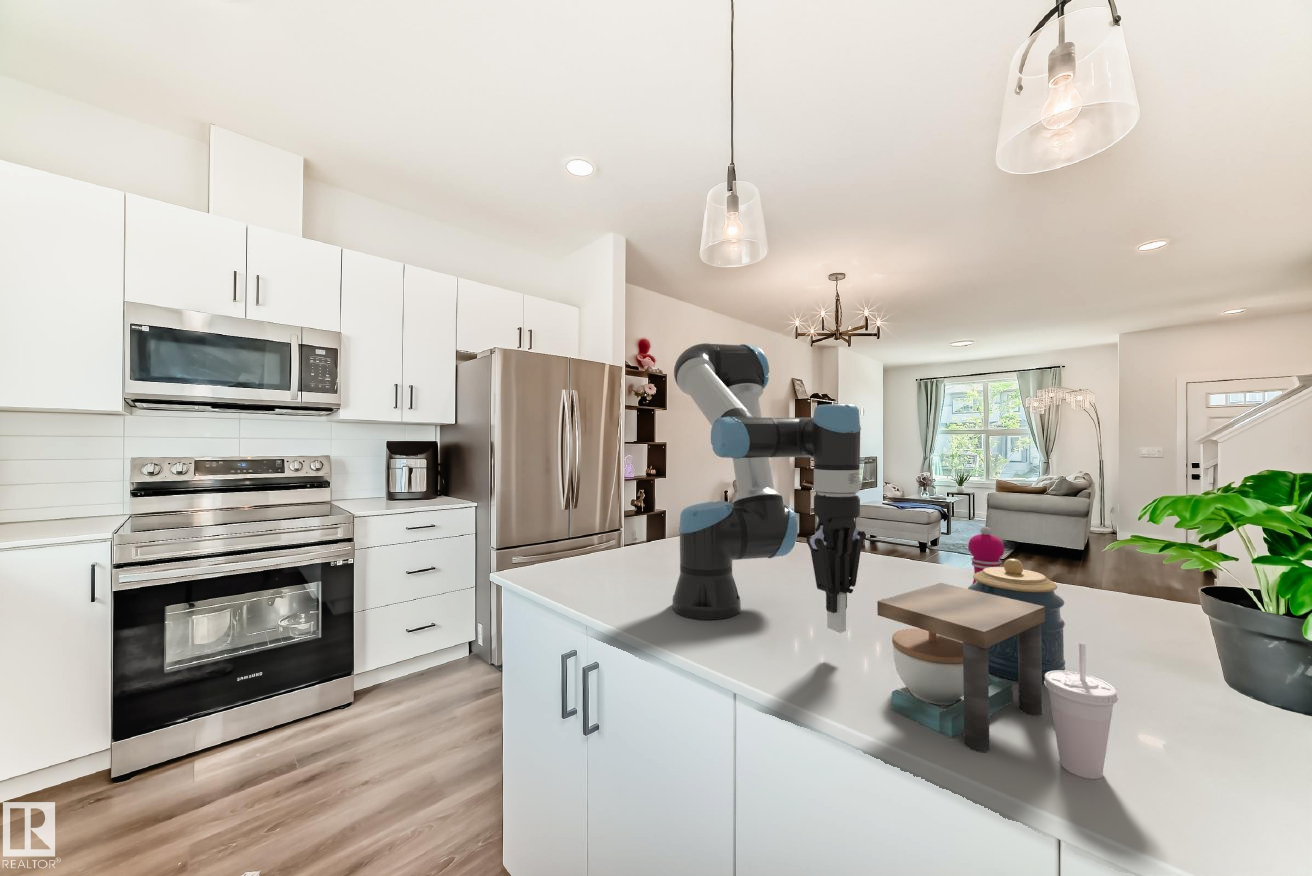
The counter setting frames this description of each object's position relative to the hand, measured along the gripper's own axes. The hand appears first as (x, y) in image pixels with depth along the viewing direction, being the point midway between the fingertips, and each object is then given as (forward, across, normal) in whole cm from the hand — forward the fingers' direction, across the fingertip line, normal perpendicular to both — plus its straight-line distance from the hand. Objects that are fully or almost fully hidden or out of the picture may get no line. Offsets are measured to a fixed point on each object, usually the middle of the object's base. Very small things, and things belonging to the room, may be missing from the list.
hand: (836, 629), depth 88 cm
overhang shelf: (+4, 0, -21) cm, 21 cm away
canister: (+5, +21, -19) cm, 28 cm away
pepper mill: (+5, +36, -8) cm, 37 cm away
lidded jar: (+5, 0, -16) cm, 17 cm away
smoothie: (+4, -2, -35) cm, 35 cm away
